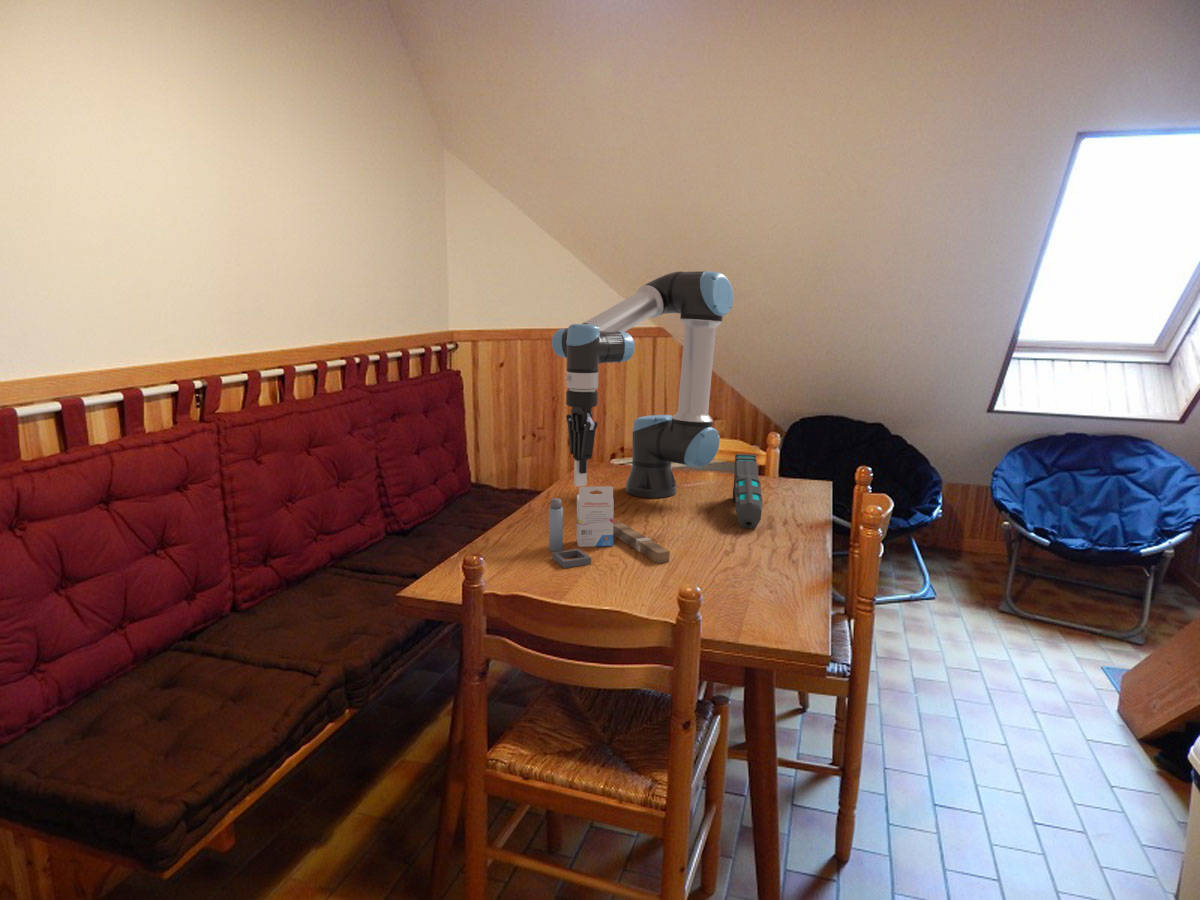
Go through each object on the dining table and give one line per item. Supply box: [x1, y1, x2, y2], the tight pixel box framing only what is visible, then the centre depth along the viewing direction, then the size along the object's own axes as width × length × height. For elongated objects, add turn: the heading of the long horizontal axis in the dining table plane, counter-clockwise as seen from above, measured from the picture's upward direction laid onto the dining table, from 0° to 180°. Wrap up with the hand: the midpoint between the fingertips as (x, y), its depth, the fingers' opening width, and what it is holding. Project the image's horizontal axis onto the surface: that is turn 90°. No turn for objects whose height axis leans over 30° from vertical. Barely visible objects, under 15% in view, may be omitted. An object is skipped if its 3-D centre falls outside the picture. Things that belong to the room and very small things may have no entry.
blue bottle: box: [548, 497, 564, 552], centre depth 179 cm, size 3×3×12 cm
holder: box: [551, 548, 592, 569], centre depth 172 cm, size 7×7×2 cm
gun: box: [732, 453, 763, 529], centre depth 210 cm, size 7×29×15 cm, turn 173°
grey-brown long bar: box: [613, 521, 670, 565], centre depth 182 cm, size 24×3×3 cm, turn 26°
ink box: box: [576, 485, 615, 548], centre depth 183 cm, size 8×5×15 cm, turn 96°
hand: (580, 485), depth 188 cm, fingers closed
